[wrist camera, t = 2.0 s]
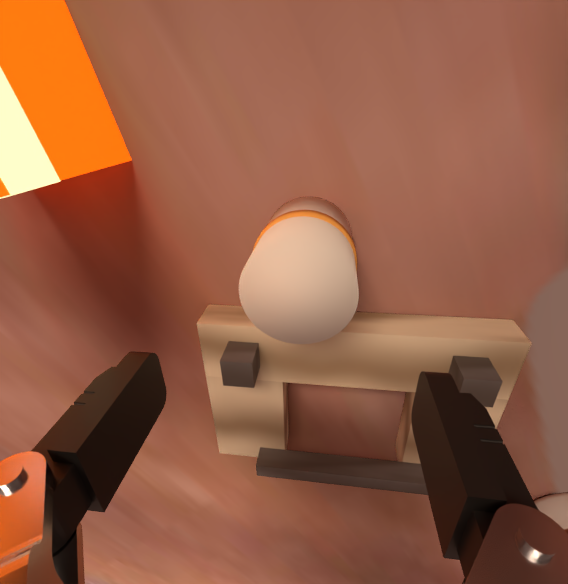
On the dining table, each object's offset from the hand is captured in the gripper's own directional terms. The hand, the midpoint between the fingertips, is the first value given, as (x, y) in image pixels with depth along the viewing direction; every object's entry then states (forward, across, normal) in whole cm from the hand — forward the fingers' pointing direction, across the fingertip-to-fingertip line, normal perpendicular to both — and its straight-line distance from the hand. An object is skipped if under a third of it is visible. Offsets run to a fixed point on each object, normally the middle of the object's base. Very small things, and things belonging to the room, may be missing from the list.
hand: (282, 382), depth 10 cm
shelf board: (+12, -3, +11) cm, 17 cm away
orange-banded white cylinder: (+12, 0, 0) cm, 12 cm away
